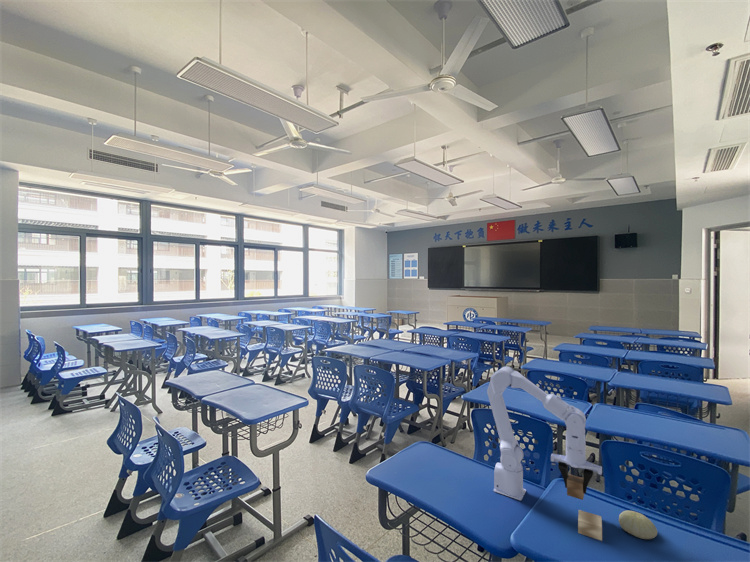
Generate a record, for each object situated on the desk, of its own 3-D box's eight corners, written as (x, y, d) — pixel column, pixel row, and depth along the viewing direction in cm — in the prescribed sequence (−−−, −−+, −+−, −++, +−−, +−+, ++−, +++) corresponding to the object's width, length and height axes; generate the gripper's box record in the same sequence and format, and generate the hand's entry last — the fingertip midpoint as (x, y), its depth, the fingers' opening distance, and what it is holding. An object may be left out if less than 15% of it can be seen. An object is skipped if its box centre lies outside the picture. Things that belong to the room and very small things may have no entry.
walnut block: (567, 495, 113) (566, 479, 113) (568, 489, 116) (568, 474, 117) (582, 500, 110) (582, 484, 110) (584, 493, 114) (584, 478, 114)
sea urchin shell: (644, 540, 98) (625, 507, 103) (625, 546, 103) (608, 515, 109) (668, 534, 100) (647, 503, 106) (648, 541, 105) (630, 510, 111)
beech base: (578, 533, 103) (578, 519, 103) (578, 522, 108) (578, 509, 108) (602, 541, 100) (601, 527, 100) (601, 529, 105) (601, 516, 105)
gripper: (549, 445, 115) (549, 486, 115) (600, 458, 106) (601, 503, 106) (552, 438, 121) (552, 478, 120) (602, 450, 112) (602, 492, 112)
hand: (575, 489), depth 113 cm, fingers closed on walnut block, 4 cm apart
